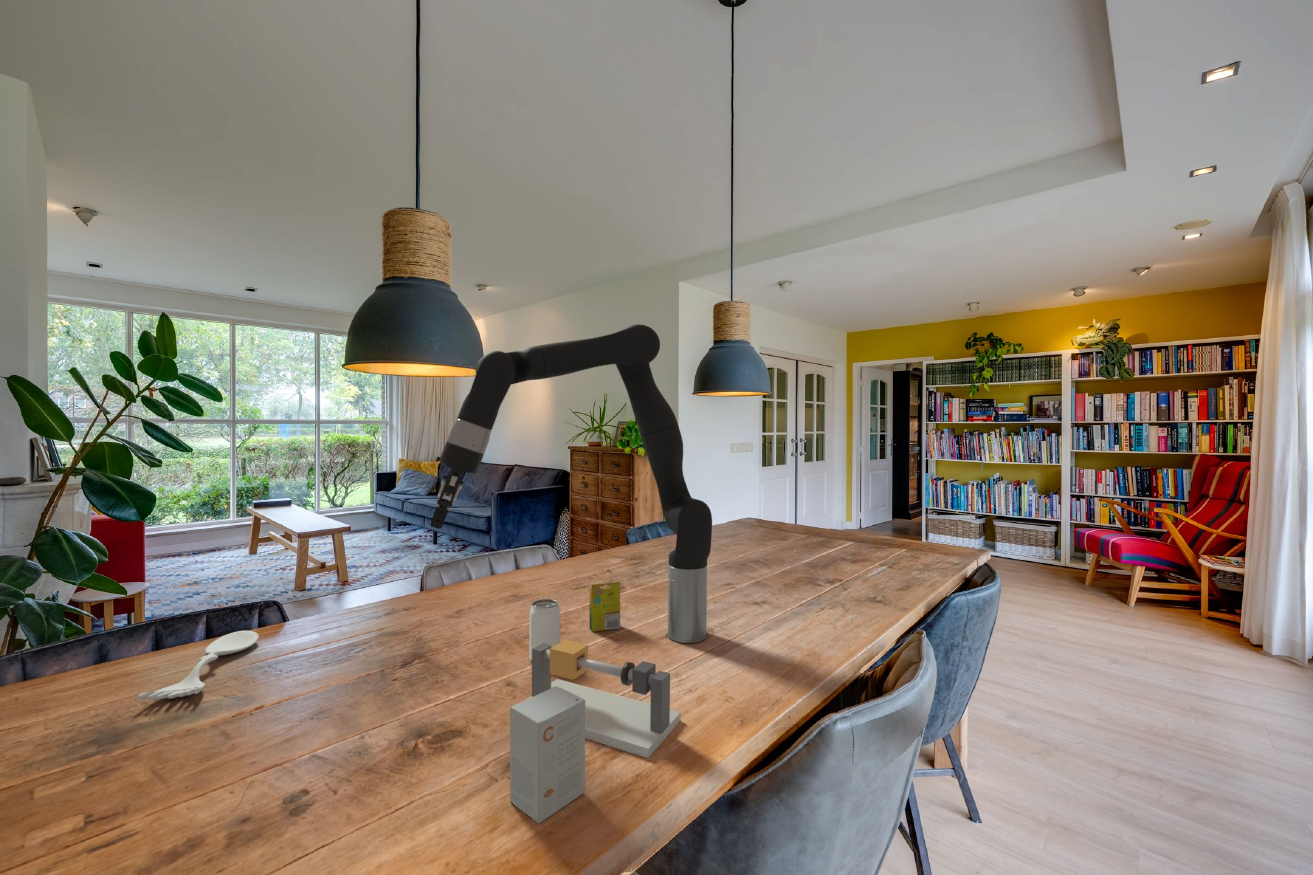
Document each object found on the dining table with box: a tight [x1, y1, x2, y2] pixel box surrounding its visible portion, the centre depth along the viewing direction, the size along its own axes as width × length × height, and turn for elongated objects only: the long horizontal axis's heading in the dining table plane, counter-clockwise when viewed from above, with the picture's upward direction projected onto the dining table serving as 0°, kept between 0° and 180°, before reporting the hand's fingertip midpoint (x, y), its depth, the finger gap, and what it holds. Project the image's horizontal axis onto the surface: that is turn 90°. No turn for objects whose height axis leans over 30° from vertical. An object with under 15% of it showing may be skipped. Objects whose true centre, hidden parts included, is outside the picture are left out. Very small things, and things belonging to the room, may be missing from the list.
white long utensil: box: [136, 630, 260, 701], centre depth 110 cm, size 9×32×4 cm, turn 18°
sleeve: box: [550, 639, 589, 681], centre depth 96 cm, size 4×5×4 cm
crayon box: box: [588, 581, 621, 633], centre depth 135 cm, size 7×3×12 cm, turn 108°
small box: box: [509, 686, 586, 825], centre depth 73 cm, size 8×6×13 cm
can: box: [529, 598, 561, 662], centre depth 117 cm, size 6×6×12 cm
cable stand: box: [525, 643, 682, 759], centre depth 94 cm, size 12×26×11 cm, turn 63°
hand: (436, 524), depth 107 cm, fingers open, 8 cm apart
